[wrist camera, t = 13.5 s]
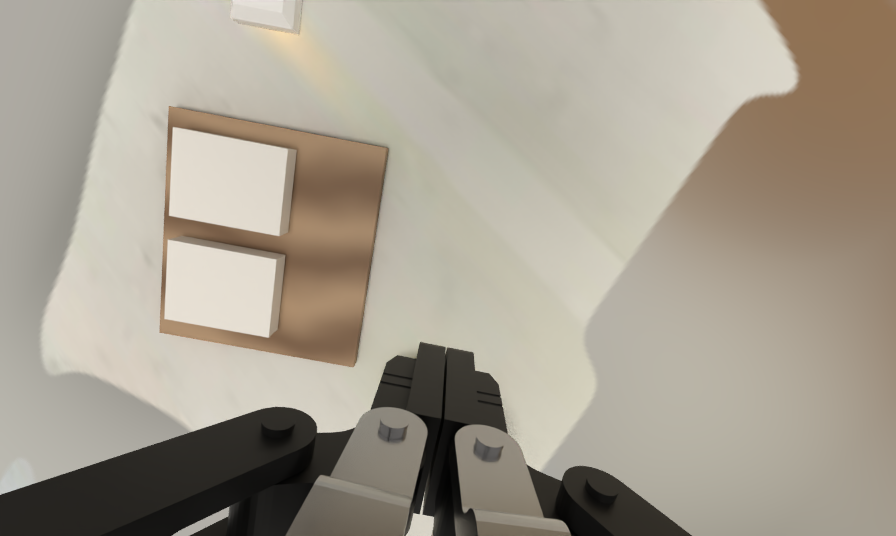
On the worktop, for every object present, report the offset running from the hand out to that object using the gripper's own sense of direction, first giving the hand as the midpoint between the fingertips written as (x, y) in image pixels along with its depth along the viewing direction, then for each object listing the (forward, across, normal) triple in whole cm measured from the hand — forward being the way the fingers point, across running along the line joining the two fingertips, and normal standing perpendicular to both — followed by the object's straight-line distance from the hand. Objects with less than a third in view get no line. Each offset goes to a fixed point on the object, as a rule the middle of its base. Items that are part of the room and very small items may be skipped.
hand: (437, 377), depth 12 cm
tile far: (+26, +14, +9) cm, 30 cm away
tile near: (+26, +14, 0) cm, 29 cm away
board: (+28, +15, +5) cm, 32 cm away
